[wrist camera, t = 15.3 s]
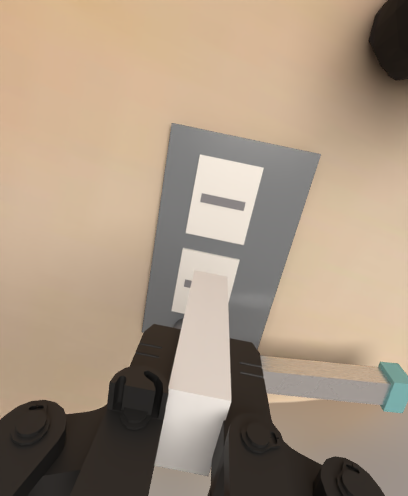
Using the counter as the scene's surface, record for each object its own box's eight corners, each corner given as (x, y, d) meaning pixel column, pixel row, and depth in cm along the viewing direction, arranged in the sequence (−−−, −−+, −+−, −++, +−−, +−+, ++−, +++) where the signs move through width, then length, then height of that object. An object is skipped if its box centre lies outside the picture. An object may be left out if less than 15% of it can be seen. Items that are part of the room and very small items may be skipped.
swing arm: (164, 368, 35) (159, 387, 32) (165, 340, 34) (159, 359, 31) (387, 390, 34) (402, 413, 31) (398, 363, 33) (414, 384, 30)
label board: (144, 326, 41) (130, 357, 35) (173, 123, 32) (162, 119, 26) (254, 349, 41) (259, 384, 35) (317, 153, 32) (338, 156, 26)
